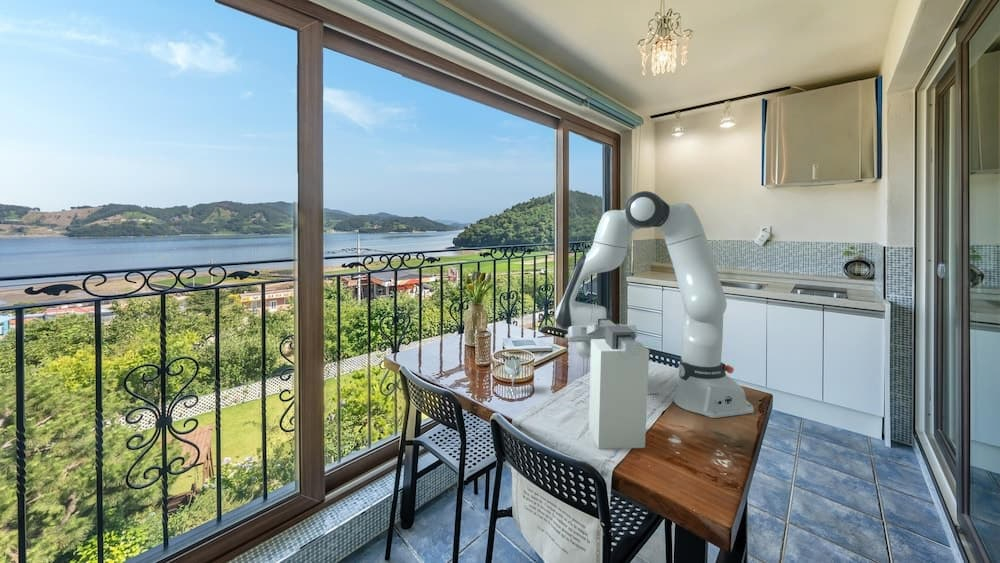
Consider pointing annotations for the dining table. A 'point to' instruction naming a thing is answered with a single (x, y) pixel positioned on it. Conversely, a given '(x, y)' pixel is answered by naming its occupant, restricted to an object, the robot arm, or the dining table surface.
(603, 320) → the angular gray block
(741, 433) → the dining table surface
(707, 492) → the dining table surface
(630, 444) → the tall white pillar
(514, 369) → the wineglass
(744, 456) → the dining table surface
